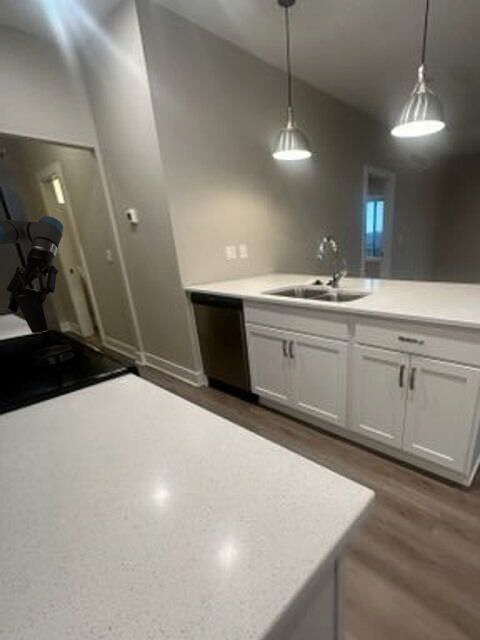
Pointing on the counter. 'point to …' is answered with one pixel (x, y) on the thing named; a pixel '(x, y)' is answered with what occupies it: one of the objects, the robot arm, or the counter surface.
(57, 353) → the stand
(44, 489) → the counter surface
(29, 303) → the drinking cup
